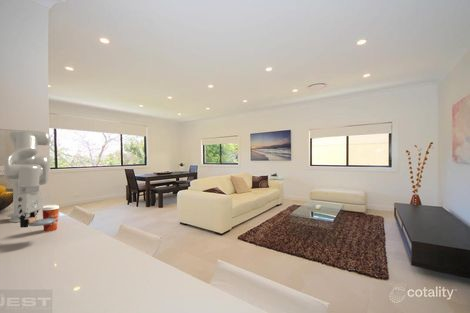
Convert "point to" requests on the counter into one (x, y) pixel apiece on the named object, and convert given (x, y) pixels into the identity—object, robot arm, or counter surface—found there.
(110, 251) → the counter surface
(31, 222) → the gray paddle
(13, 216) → the robot arm
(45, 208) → the paper cup
